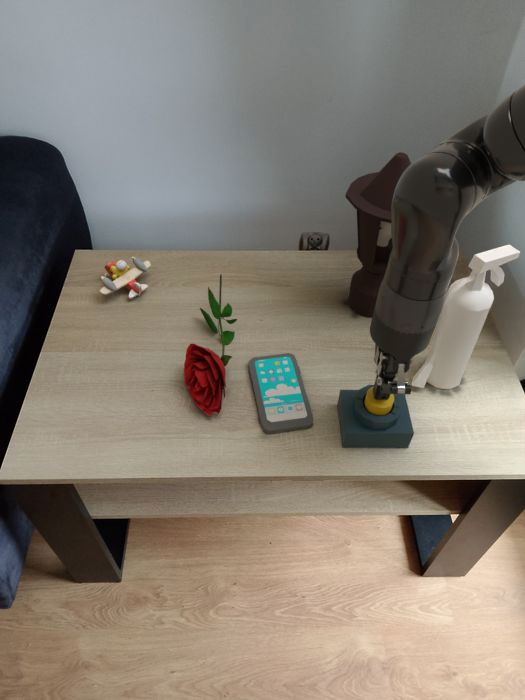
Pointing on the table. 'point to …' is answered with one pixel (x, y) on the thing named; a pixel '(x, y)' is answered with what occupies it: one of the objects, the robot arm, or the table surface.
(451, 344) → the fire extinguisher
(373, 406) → the button
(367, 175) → the lantern
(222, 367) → the flower
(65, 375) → the table surface
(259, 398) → the smartphone
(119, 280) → the toy airplane
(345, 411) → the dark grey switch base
